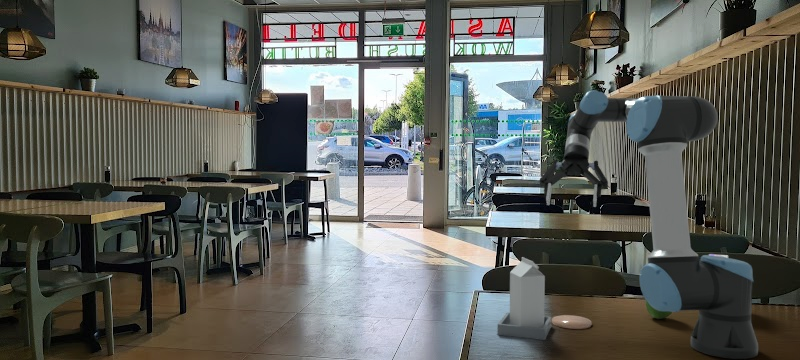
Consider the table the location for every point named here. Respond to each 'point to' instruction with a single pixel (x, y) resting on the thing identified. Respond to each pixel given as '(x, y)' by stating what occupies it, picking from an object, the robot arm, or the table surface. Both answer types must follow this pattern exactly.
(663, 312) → the avocado
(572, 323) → the peach flat disc
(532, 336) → the square tray
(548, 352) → the table surface
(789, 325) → the table surface
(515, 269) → the milk carton
